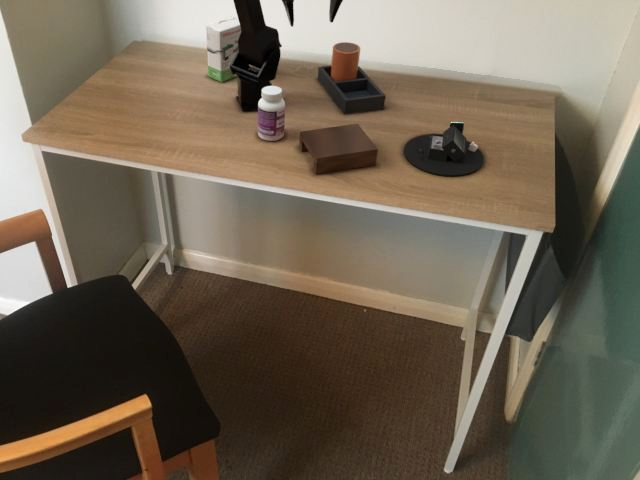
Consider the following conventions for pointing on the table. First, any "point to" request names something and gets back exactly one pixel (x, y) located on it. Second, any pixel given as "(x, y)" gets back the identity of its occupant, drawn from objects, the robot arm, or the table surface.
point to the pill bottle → (271, 114)
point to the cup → (345, 61)
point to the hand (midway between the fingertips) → (311, 23)
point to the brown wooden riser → (338, 148)
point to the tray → (352, 92)
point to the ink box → (222, 47)
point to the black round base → (444, 153)
